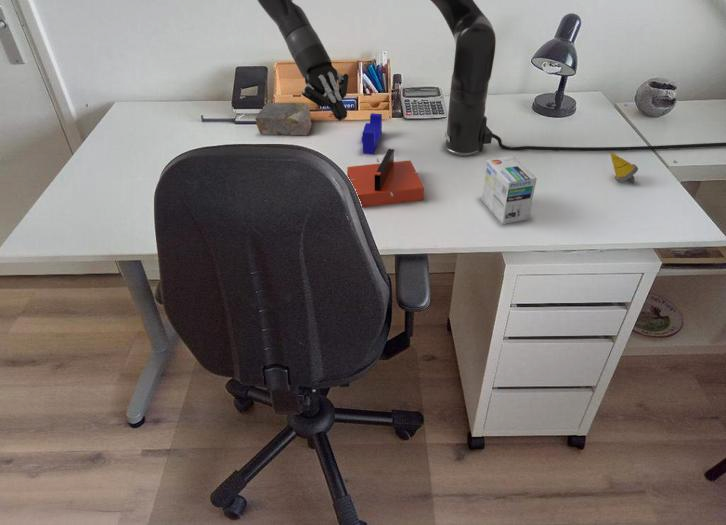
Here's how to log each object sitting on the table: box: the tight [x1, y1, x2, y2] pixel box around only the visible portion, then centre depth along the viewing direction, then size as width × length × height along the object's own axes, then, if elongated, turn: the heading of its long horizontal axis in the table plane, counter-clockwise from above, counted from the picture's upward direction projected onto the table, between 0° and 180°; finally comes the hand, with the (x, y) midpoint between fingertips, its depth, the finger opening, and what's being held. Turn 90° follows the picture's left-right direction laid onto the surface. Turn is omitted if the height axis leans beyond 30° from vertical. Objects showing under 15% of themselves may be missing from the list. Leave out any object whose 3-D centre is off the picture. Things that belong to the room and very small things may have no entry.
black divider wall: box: [375, 148, 395, 191], centre depth 128 cm, size 13×1×4 cm, turn 164°
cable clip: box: [361, 112, 383, 155], centre depth 148 cm, size 12×4×6 cm, turn 168°
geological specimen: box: [255, 102, 313, 137], centre depth 157 cm, size 11×6×15 cm
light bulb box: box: [481, 155, 538, 225], centre depth 121 cm, size 11×7×11 cm, turn 17°
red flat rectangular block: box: [346, 158, 425, 208], centre depth 130 cm, size 17×17×4 cm
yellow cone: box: [609, 151, 639, 184], centre depth 131 cm, size 5×5×10 cm
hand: (343, 118), depth 126 cm, fingers closed
